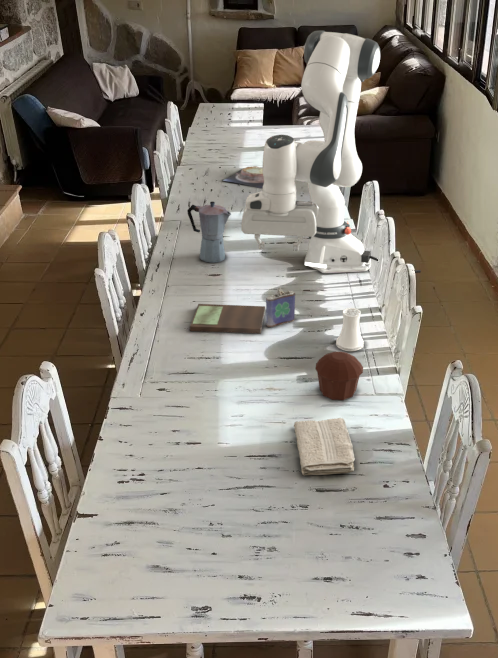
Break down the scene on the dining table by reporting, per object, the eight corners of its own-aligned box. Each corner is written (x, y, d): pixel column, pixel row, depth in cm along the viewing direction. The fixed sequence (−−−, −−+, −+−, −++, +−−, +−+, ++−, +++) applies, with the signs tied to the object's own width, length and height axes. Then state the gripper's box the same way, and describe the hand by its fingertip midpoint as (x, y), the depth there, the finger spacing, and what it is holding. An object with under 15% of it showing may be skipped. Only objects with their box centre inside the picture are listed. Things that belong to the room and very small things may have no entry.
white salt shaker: (348, 334, 204) (350, 303, 199) (369, 344, 200) (371, 312, 194) (330, 344, 200) (331, 311, 194) (350, 354, 195) (352, 321, 190)
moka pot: (229, 265, 243) (226, 208, 232) (185, 261, 245) (180, 204, 235) (236, 254, 251) (234, 198, 240) (194, 250, 253) (190, 194, 243)
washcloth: (301, 478, 152) (302, 467, 151) (292, 427, 167) (292, 416, 166) (357, 474, 154) (358, 463, 152) (342, 424, 169) (343, 413, 167)
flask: (268, 328, 207) (268, 294, 201) (263, 324, 209) (263, 290, 203) (296, 320, 211) (297, 287, 205) (291, 316, 213) (291, 283, 207)
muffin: (308, 397, 178) (309, 362, 172) (322, 374, 187) (323, 340, 181) (354, 407, 175) (357, 372, 169) (367, 383, 183) (369, 349, 178)
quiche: (221, 181, 318) (221, 172, 316) (243, 169, 333) (243, 160, 331) (264, 188, 311) (264, 179, 308) (284, 175, 326) (284, 166, 324)
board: (265, 310, 216) (265, 305, 215) (260, 333, 204) (260, 328, 203) (198, 308, 217) (198, 303, 216) (190, 331, 205) (189, 326, 204)
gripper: (319, 197, 194) (317, 246, 201) (242, 194, 194) (243, 243, 202) (318, 205, 188) (316, 255, 196) (239, 202, 189) (240, 252, 196)
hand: (278, 249), depth 199 cm, fingers open, 8 cm apart
